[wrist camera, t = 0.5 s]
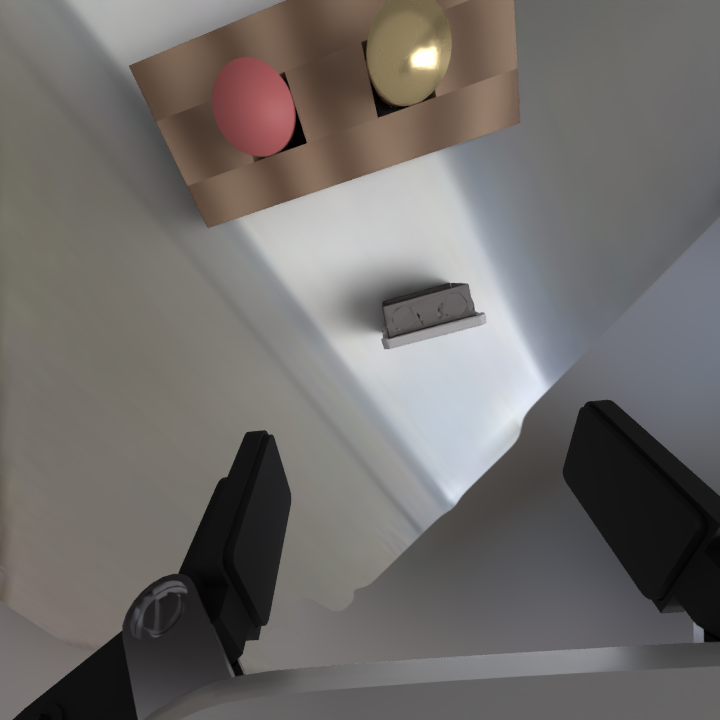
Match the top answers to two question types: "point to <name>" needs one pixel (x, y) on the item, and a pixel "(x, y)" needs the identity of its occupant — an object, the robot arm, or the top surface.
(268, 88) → the oxblood plug
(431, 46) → the brass plug
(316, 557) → the top surface
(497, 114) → the plug block
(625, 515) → the robot arm
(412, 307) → the electrical switch
